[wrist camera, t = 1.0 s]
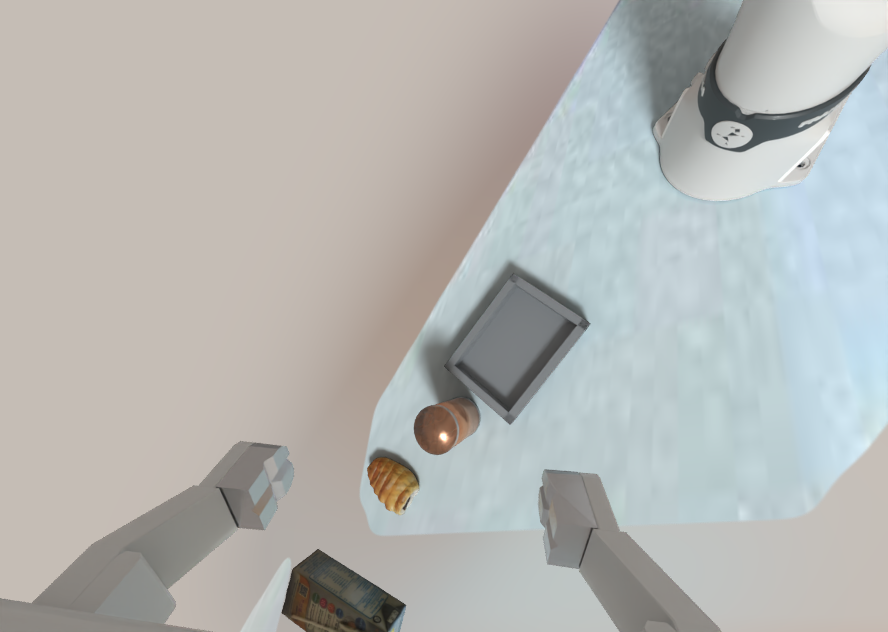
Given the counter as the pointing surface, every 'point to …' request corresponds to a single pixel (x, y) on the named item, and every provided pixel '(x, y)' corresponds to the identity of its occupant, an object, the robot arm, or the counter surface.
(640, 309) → the counter surface
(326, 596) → the beverage carton
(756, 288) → the counter surface
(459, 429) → the tin can
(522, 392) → the tray
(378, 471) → the pastry
